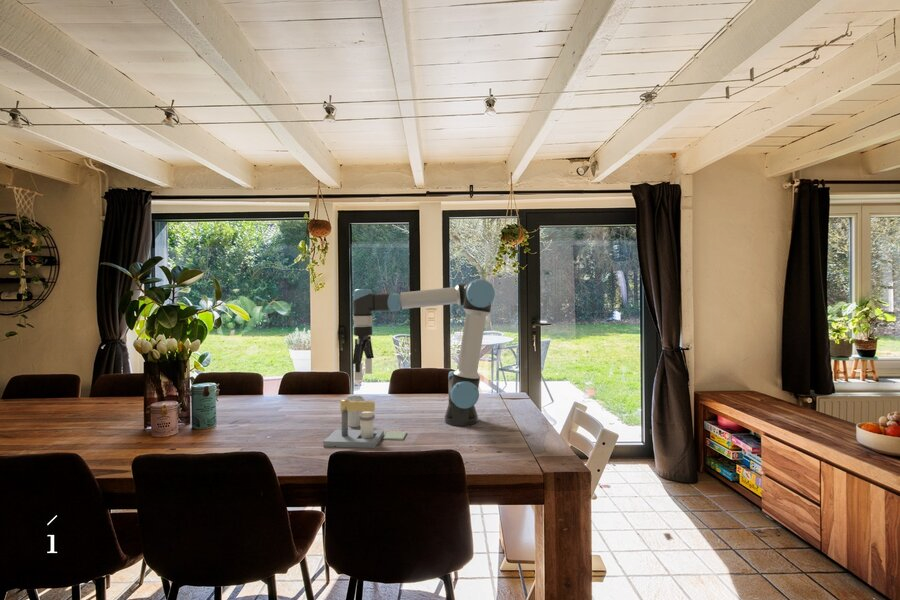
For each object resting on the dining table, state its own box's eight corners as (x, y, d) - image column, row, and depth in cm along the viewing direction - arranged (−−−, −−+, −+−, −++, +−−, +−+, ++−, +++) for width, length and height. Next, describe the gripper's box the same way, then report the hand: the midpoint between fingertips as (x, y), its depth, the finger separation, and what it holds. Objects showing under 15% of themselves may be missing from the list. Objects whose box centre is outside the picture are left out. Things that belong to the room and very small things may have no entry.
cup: (359, 427, 177) (359, 400, 177) (342, 426, 179) (342, 399, 178) (367, 422, 185) (367, 396, 185) (350, 421, 186) (350, 395, 186)
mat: (406, 433, 170) (406, 431, 170) (403, 439, 162) (403, 438, 162) (387, 432, 170) (387, 431, 170) (383, 439, 162) (383, 438, 162)
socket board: (383, 435, 168) (383, 406, 167) (375, 447, 154) (374, 416, 153) (336, 434, 169) (336, 405, 169) (323, 446, 155) (323, 415, 155)
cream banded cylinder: (376, 438, 164) (376, 411, 164) (372, 443, 158) (372, 415, 158) (361, 438, 164) (361, 410, 164) (357, 443, 158) (357, 415, 158)
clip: (375, 409, 162) (375, 399, 162) (373, 411, 159) (373, 401, 159) (342, 409, 163) (342, 399, 163) (339, 411, 160) (339, 401, 160)
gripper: (363, 323, 183) (364, 371, 183) (343, 328, 158) (344, 382, 158) (379, 323, 182) (380, 371, 183) (362, 328, 158) (363, 382, 158)
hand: (363, 376), depth 170 cm, fingers open, 13 cm apart
